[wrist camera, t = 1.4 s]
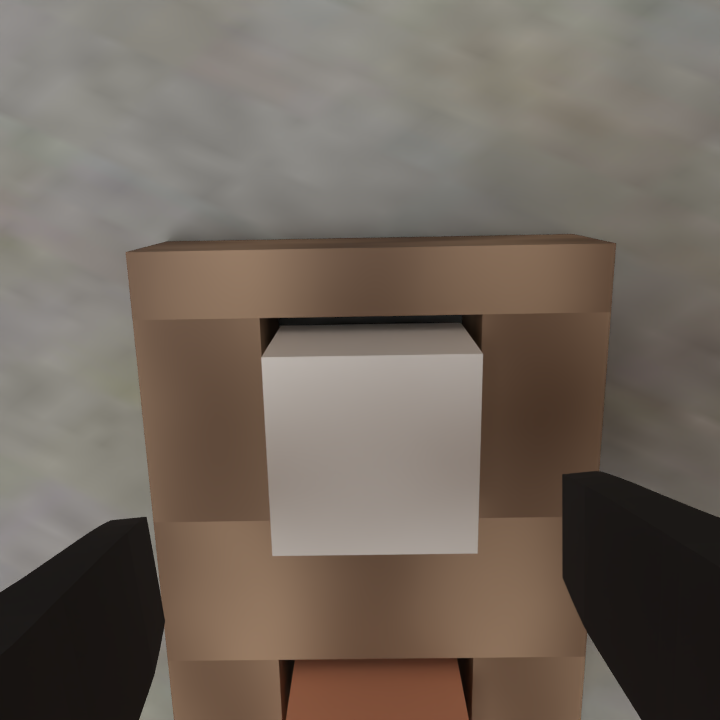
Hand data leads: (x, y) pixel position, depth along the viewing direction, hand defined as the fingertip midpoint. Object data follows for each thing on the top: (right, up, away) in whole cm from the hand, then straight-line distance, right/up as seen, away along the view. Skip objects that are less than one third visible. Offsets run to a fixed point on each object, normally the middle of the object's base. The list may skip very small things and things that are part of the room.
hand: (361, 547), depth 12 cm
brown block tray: (0, -2, +11) cm, 11 cm away
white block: (0, +2, +7) cm, 7 cm away
